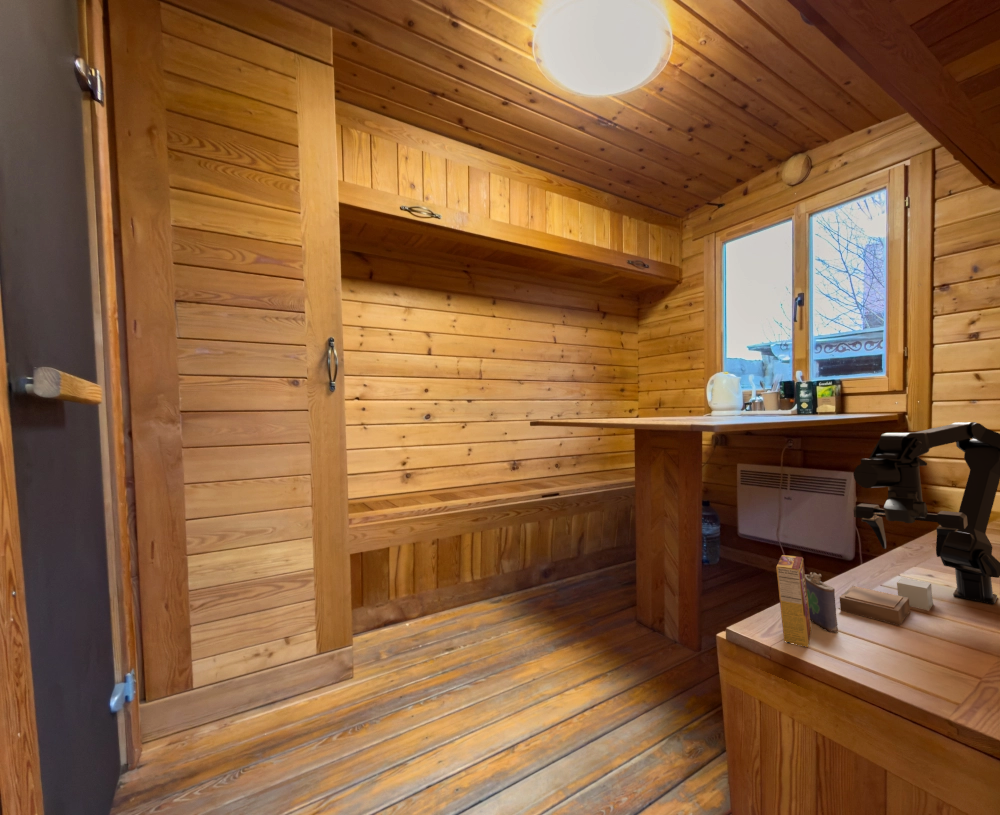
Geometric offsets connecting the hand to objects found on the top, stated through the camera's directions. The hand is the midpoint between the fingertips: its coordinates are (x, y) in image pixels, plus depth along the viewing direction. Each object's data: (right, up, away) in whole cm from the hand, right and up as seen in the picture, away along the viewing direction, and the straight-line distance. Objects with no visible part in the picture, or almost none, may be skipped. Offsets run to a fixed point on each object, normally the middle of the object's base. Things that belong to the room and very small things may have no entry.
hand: (910, 552), depth 99 cm
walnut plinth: (-11, -12, -3) cm, 17 cm away
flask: (-27, -13, -7) cm, 31 cm away
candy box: (-35, -13, -12) cm, 40 cm away
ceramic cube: (+1, -12, -1) cm, 12 cm away
